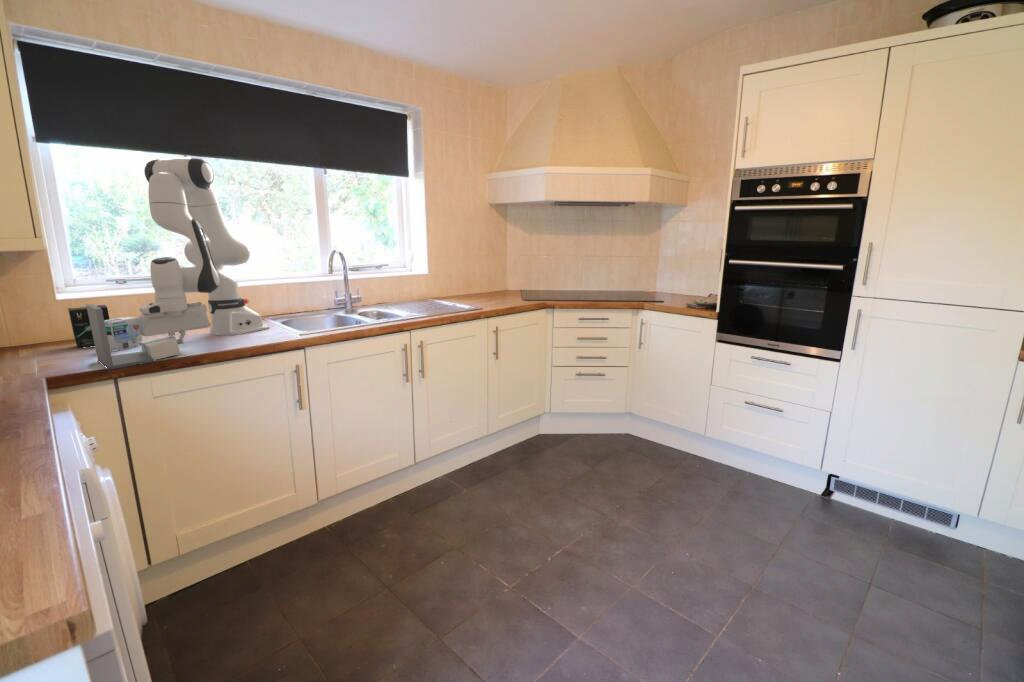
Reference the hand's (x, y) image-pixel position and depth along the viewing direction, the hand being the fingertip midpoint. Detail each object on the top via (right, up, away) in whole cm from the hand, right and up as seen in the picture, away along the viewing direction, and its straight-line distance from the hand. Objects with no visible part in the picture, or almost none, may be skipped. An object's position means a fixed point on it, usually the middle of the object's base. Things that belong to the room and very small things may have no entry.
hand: (178, 344), depth 169 cm
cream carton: (-4, -3, -3) cm, 6 cm away
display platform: (-10, -6, -10) cm, 16 cm away
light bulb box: (-27, -2, +9) cm, 29 cm away
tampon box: (-42, -1, +14) cm, 44 cm away
